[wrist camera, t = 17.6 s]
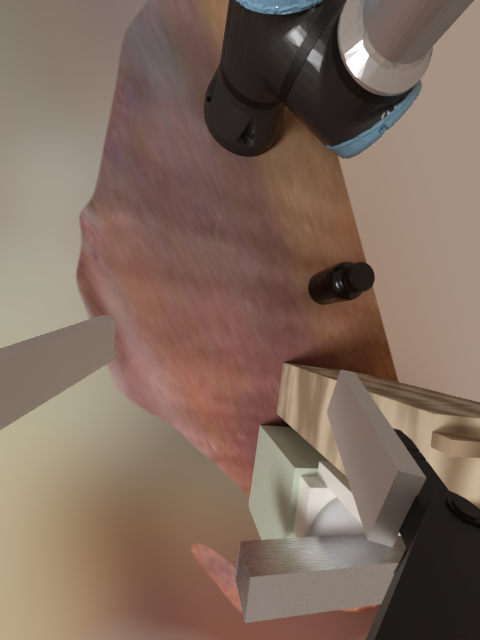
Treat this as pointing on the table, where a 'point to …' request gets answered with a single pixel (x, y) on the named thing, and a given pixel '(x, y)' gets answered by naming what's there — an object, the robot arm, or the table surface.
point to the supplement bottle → (341, 282)
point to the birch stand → (391, 422)
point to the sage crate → (279, 479)
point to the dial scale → (326, 505)
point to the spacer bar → (313, 574)
